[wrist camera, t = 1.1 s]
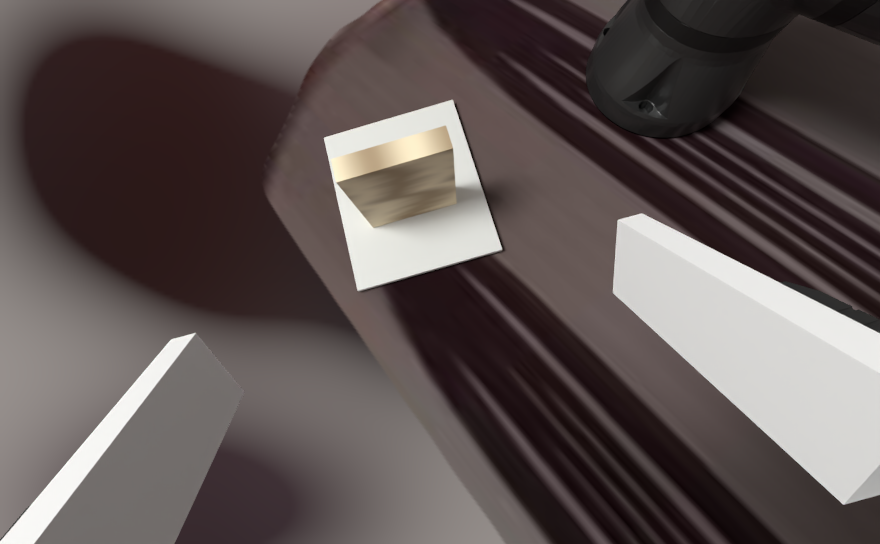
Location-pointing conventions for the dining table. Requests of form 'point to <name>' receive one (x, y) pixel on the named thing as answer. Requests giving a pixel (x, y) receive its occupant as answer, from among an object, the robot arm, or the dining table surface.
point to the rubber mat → (421, 236)
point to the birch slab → (399, 177)
